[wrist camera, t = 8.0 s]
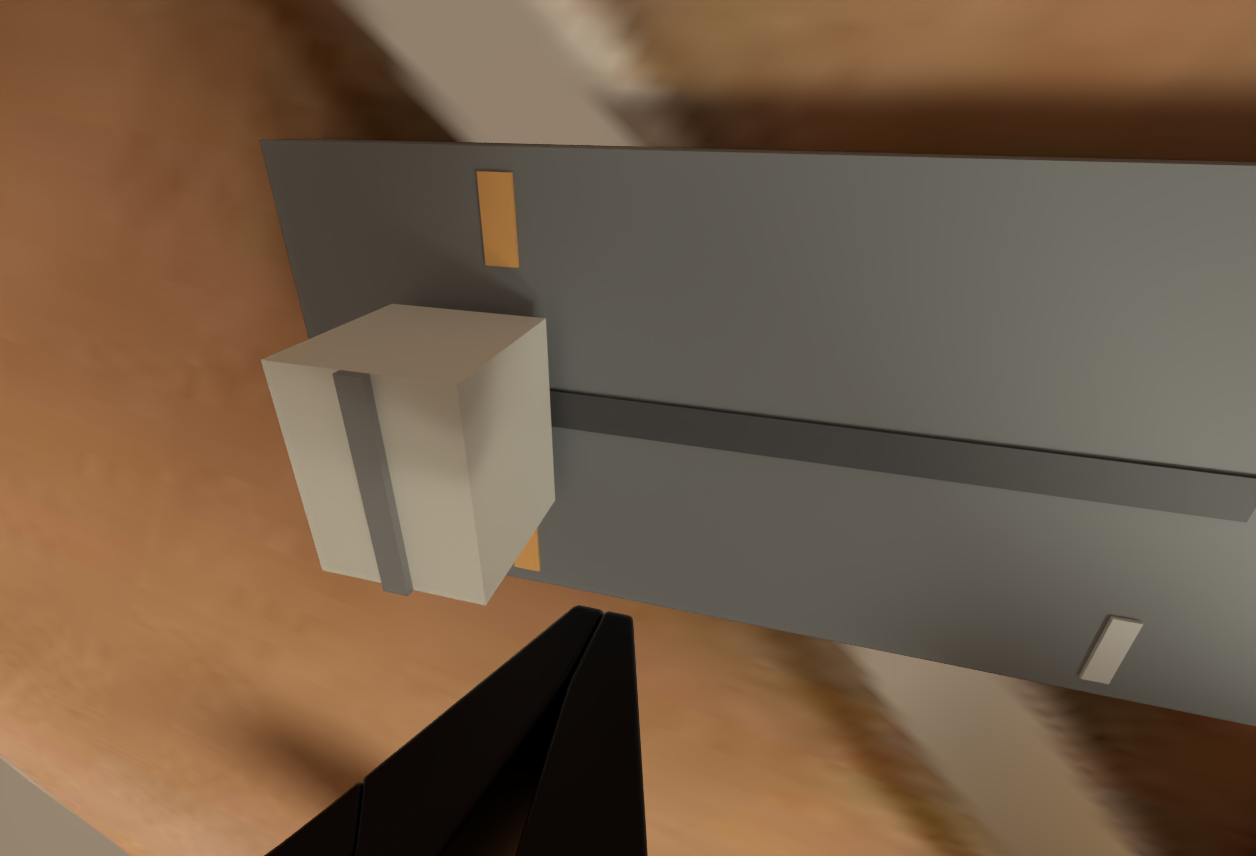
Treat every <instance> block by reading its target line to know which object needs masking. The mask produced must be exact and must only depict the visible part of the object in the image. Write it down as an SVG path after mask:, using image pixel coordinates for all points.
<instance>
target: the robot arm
mask: <svg viewBox="0 0 1256 856" xmlns="http://www.w3.org/2000/svg"><path fill="white" fill-rule="evenodd" d="M264 856H648V855H647V838H646V822H645V806H644V790H643V774H642V758H641V741H640V725H639V709H638V693H637V677H636V661H635V644H634V628H633V619H632V617H631V616H629V615H624V614H619V613H614V612H605V613H603V612H602V611H601V610H600V609H595V608H590V607H585V606H580V605H578V606H575V607H573V608H572V609H570V610H569V611H568V612H567V613H565V614H564V615H563V616H562V617H560V618H559V619H558V620H557V621H556V622H554V623H553V624H552V625H551V626H549V627H548V628H547V629H546V630H545V631H543V632H542V633H541V634H540V635H538V636H537V637H536V638H535V639H533V640H532V641H531V642H530V643H529V644H527V645H526V646H525V647H524V648H522V649H521V650H520V651H519V652H518V653H516V654H515V655H514V656H513V657H511V658H510V659H509V660H508V661H507V662H505V663H504V664H503V665H502V666H500V667H499V668H498V669H497V670H495V671H494V672H493V673H492V674H491V675H489V676H488V677H487V678H486V679H484V680H483V681H482V682H481V683H480V684H478V685H477V686H476V687H475V688H473V689H472V690H471V691H470V692H469V693H467V694H466V695H465V696H464V697H462V698H461V699H460V700H459V701H458V702H456V703H455V704H454V705H453V706H451V707H450V708H449V709H448V710H446V711H445V712H444V713H443V714H442V715H440V716H439V717H438V718H437V719H435V720H434V721H433V722H432V723H431V724H429V725H428V726H427V727H426V728H424V729H423V730H422V731H421V732H420V733H418V734H417V735H416V736H415V737H413V738H412V739H411V740H410V741H408V742H407V743H406V744H405V745H404V746H402V747H401V748H400V749H399V750H397V751H396V752H395V753H394V754H393V755H391V756H390V757H389V758H388V759H386V760H385V761H384V762H383V763H382V764H380V765H379V766H378V767H377V768H375V769H374V770H373V771H372V772H370V773H369V774H368V775H367V776H366V777H365V778H364V780H363V784H362V783H360V782H359V783H357V784H355V785H354V786H353V787H352V788H350V789H349V790H348V791H347V792H346V793H344V794H343V795H342V796H341V797H339V798H338V799H337V800H336V801H335V802H333V803H332V804H331V805H330V806H328V807H327V808H326V809H325V810H323V811H322V812H321V813H319V814H318V815H317V816H316V817H314V818H313V819H312V820H310V821H309V822H308V823H307V824H305V825H304V826H303V827H302V828H300V829H299V830H298V831H296V832H295V833H294V834H293V835H291V836H290V837H289V838H287V839H286V840H285V841H284V842H282V843H281V844H280V845H278V846H277V847H276V848H274V849H273V850H271V851H270V852H269V853H267V854H266V855H264Z"/></svg>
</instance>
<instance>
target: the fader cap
mask: <svg viewBox="0 0 1256 856" xmlns="http://www.w3.org/2000/svg"><path fill="white" fill-rule="evenodd" d="M261 362H262V366H263V369H264V373H265V376H266V379H267V383H268V386H269V390H270V393H271V396H272V400H273V403H274V407H275V410H276V414H277V417H278V420H279V424H280V427H281V431H282V434H283V437H284V441H285V444H286V448H287V451H288V454H289V458H290V461H291V465H292V468H293V471H294V475H295V478H296V482H297V485H298V489H299V492H300V495H301V499H302V502H303V506H304V509H305V512H306V516H307V519H308V523H309V526H310V529H311V533H312V536H313V540H314V543H315V547H316V550H317V553H318V557H319V560H320V564H321V567H322V570H324V571H328V572H333V573H338V574H342V575H347V576H351V577H356V578H361V579H365V580H370V581H375V582H379V583H382V587H383V591H386V592H391V593H395V594H400V595H404V596H409V595H410V594H411V592H412V591H413V590H416V591H421V592H425V593H430V594H435V595H439V596H444V597H449V598H453V599H458V600H462V601H467V602H472V603H476V604H481V605H486V604H487V603H488V601H489V600H490V598H491V597H492V595H493V594H494V592H495V591H496V589H497V588H498V586H499V585H500V583H501V582H502V580H503V579H504V577H505V576H506V574H507V573H508V571H509V570H510V568H511V567H512V565H513V563H514V562H515V560H516V559H517V557H518V556H519V554H520V553H521V551H522V550H523V548H524V547H525V545H526V544H527V542H528V541H529V539H530V538H531V536H532V535H533V533H534V532H535V530H536V529H537V527H538V526H539V524H540V523H541V521H542V520H543V518H544V517H545V515H546V514H547V512H548V511H549V509H550V507H551V506H552V504H553V503H554V501H555V485H554V466H553V446H552V427H551V408H550V388H549V369H548V349H547V330H546V318H537V317H527V316H516V315H506V314H495V313H485V312H474V311H464V310H453V309H443V308H432V307H422V306H411V305H401V304H390V305H388V306H385V307H383V308H381V309H378V310H376V311H374V312H371V313H369V314H367V315H364V316H362V317H360V318H357V319H355V320H353V321H350V322H348V323H346V324H343V325H341V326H339V327H336V328H334V329H332V330H329V331H327V332H325V333H322V334H320V335H318V336H315V337H313V338H311V339H308V340H306V341H304V342H301V343H299V344H297V345H294V346H292V347H290V348H287V349H285V350H282V351H280V352H278V353H275V354H273V355H271V356H268V357H266V358H264V359H261Z"/></svg>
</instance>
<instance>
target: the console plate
mask: <svg viewBox="0 0 1256 856" xmlns="http://www.w3.org/2000/svg"><path fill="white" fill-rule="evenodd" d="M260 144H261V148H262V152H263V156H264V160H265V164H266V168H267V172H268V176H269V180H270V184H271V188H272V192H273V196H274V200H275V204H276V208H277V212H278V216H279V220H280V224H281V228H282V232H283V236H284V240H285V244H286V248H287V252H288V256H289V261H290V265H291V269H292V273H293V277H294V281H295V285H296V289H297V293H298V297H299V301H300V305H301V309H302V313H303V317H304V321H305V325H306V329H307V333H308V337H309V339H311V338H313V337H315V336H318V335H320V334H322V333H325V332H327V331H329V330H332V329H334V328H336V327H339V326H341V325H343V324H346V323H348V322H350V321H353V320H355V319H357V318H360V317H362V316H364V315H367V314H369V313H371V312H374V311H376V310H378V309H381V308H383V307H385V306H388V305H390V304H401V305H411V306H422V307H432V308H443V309H453V310H464V311H474V312H485V313H495V314H506V315H516V316H527V317H537V318H546V330H547V349H548V369H549V388H550V408H551V427H552V446H553V466H554V485H555V501H554V503H553V504H552V506H551V507H550V509H549V511H548V512H547V514H546V515H545V517H544V518H543V520H542V521H541V523H540V524H539V526H538V527H537V529H536V530H535V532H534V533H533V535H532V536H531V538H530V539H529V541H528V542H527V544H526V545H525V547H524V548H523V550H522V551H521V553H520V554H519V556H518V557H517V559H516V560H515V562H514V563H513V565H512V567H511V568H510V570H509V571H508V573H507V574H506V575H509V576H514V577H518V578H523V579H528V580H533V581H538V582H543V583H548V584H553V585H558V586H563V587H568V588H573V589H578V590H583V591H588V592H593V593H598V594H603V595H608V596H613V597H618V598H622V599H627V600H632V601H637V602H642V603H647V604H652V605H657V606H662V607H667V608H672V609H677V610H682V611H687V612H692V613H697V614H702V615H707V616H712V617H717V618H722V619H726V620H731V621H736V622H741V623H746V624H751V625H756V626H761V627H766V628H771V629H776V630H781V631H786V632H791V633H796V634H801V635H806V636H811V637H816V638H821V639H825V640H830V641H835V642H840V643H845V644H850V645H855V646H860V647H865V648H870V649H875V650H880V651H885V652H891V653H895V654H900V655H905V656H910V657H915V658H920V659H925V660H930V661H935V662H939V663H944V664H949V665H955V666H959V667H964V668H970V669H974V670H979V671H984V672H989V673H994V674H999V675H1004V676H1009V677H1014V678H1019V679H1024V680H1029V681H1033V682H1038V683H1043V684H1048V685H1053V686H1058V687H1063V688H1068V689H1073V690H1078V691H1083V692H1088V693H1093V694H1098V695H1103V696H1108V697H1113V698H1118V699H1123V700H1128V701H1133V702H1137V703H1142V704H1147V705H1152V706H1157V707H1162V708H1167V709H1172V710H1177V711H1182V712H1187V713H1192V714H1197V715H1202V716H1207V717H1212V718H1217V719H1222V720H1227V721H1232V722H1236V723H1241V724H1246V725H1251V726H1256V162H1238V161H1198V160H1157V159H1117V158H1076V157H1036V156H996V155H955V154H915V153H875V152H834V151H794V150H753V149H713V148H673V147H632V146H591V145H590V146H589V145H551V144H511V143H510V144H509V143H508V144H507V143H471V142H430V141H390V140H350V139H284V140H260Z"/></svg>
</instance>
